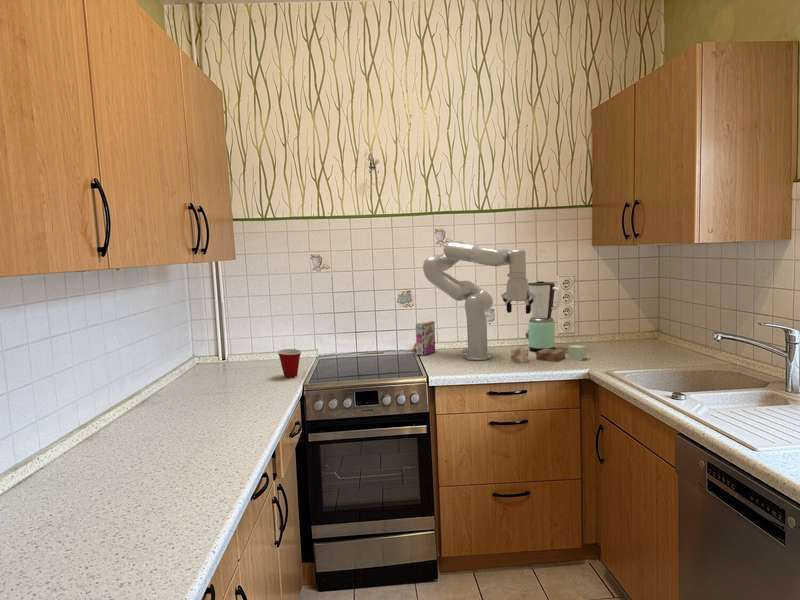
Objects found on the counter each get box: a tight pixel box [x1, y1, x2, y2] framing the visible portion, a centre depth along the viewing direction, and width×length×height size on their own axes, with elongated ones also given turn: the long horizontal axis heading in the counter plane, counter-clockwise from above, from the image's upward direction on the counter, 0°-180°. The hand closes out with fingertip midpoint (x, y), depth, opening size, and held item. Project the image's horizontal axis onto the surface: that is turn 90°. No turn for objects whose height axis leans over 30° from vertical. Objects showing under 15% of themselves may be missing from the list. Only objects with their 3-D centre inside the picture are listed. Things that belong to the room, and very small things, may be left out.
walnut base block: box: [535, 348, 566, 363], centre depth 282 cm, size 10×10×4 cm
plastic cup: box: [277, 348, 303, 378], centre depth 269 cm, size 11×11×12 cm
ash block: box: [510, 346, 529, 364], centre depth 279 cm, size 6×6×6 cm
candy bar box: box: [415, 320, 436, 356], centre depth 307 cm, size 11×5×16 cm, turn 144°
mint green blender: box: [525, 280, 562, 352], centre depth 301 cm, size 19×13×35 cm
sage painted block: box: [567, 344, 587, 362], centre depth 279 cm, size 6×6×6 cm
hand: (518, 312), depth 277 cm, fingers open, 9 cm apart
